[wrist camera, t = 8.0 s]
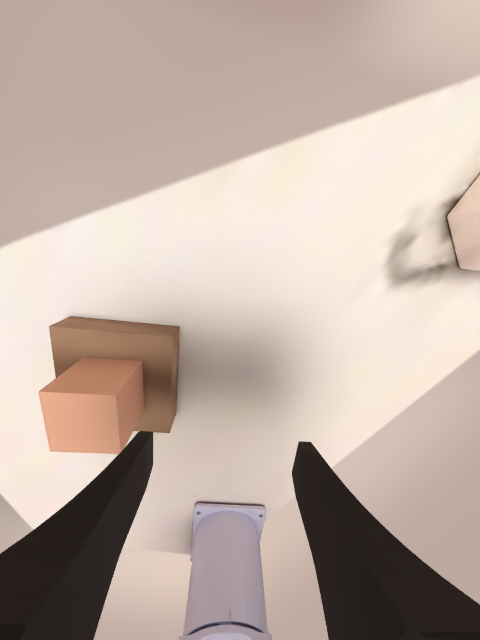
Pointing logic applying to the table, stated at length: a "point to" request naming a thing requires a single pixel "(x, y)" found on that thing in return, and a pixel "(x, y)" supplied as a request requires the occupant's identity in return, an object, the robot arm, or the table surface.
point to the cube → (93, 406)
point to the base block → (126, 344)
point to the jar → (467, 228)
